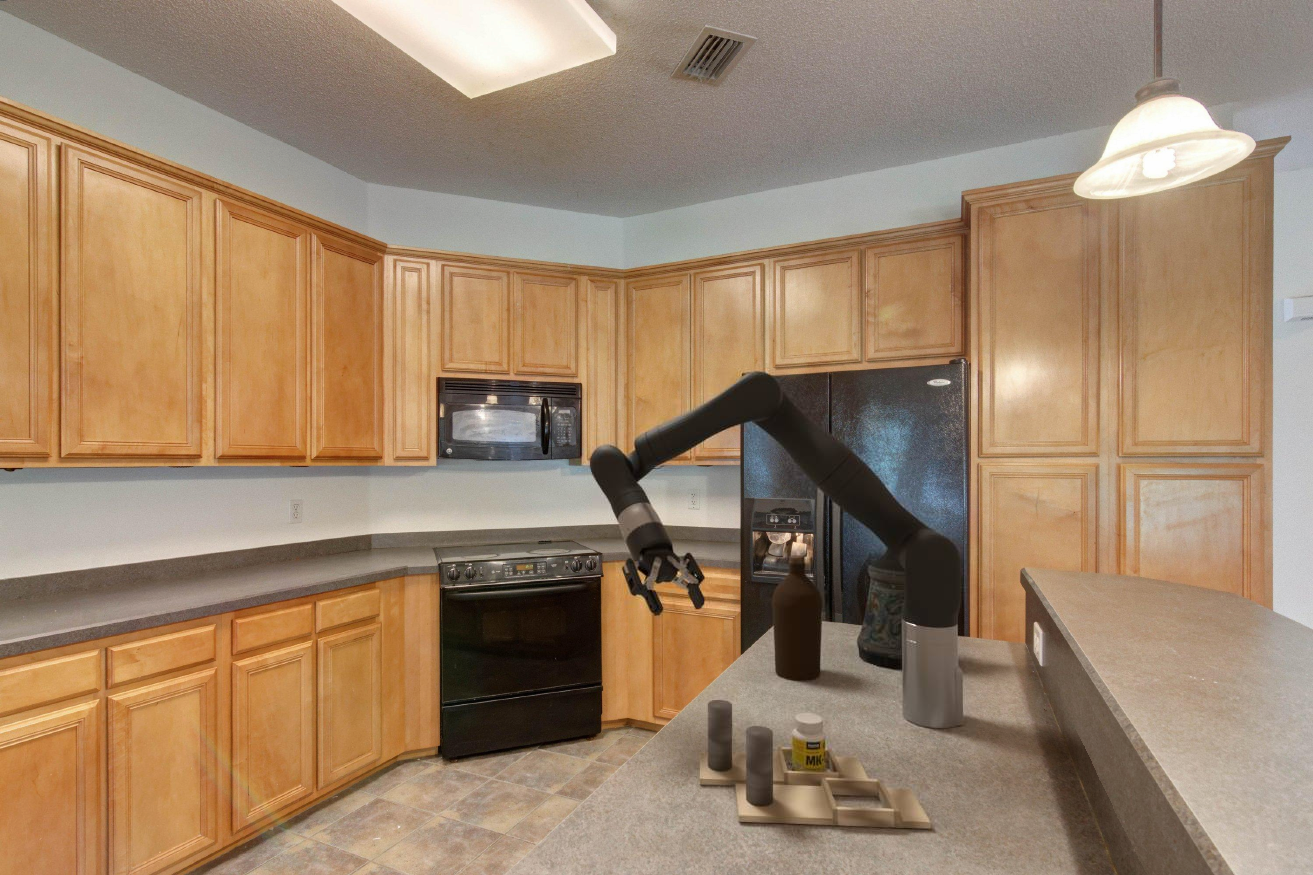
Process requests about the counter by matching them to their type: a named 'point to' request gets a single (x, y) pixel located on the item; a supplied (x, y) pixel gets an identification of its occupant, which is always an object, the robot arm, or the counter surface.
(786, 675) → the olive oil
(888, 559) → the beer stein
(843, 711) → the counter surface
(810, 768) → the supplement bottle
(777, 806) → the empty strip
